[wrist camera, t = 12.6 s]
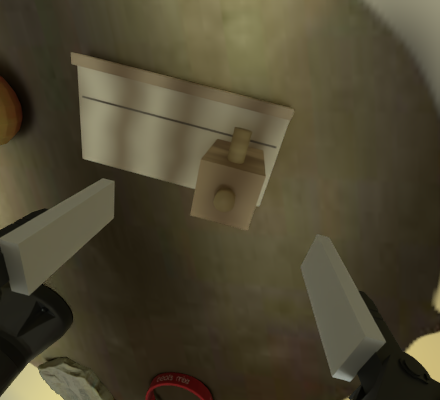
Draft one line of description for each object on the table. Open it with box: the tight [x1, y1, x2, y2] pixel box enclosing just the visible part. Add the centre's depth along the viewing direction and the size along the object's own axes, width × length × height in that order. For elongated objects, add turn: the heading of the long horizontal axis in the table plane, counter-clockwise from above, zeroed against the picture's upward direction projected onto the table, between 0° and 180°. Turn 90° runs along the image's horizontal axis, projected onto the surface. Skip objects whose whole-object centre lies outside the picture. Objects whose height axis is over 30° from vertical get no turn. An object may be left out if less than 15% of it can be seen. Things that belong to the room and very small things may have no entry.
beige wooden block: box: [190, 127, 266, 231], centre depth 21 cm, size 5×8×9 cm, turn 167°
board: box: [71, 52, 295, 206], centre depth 25 cm, size 22×11×3 cm, turn 77°
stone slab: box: [38, 357, 115, 400], centre depth 58 cm, size 12×4×30 cm
